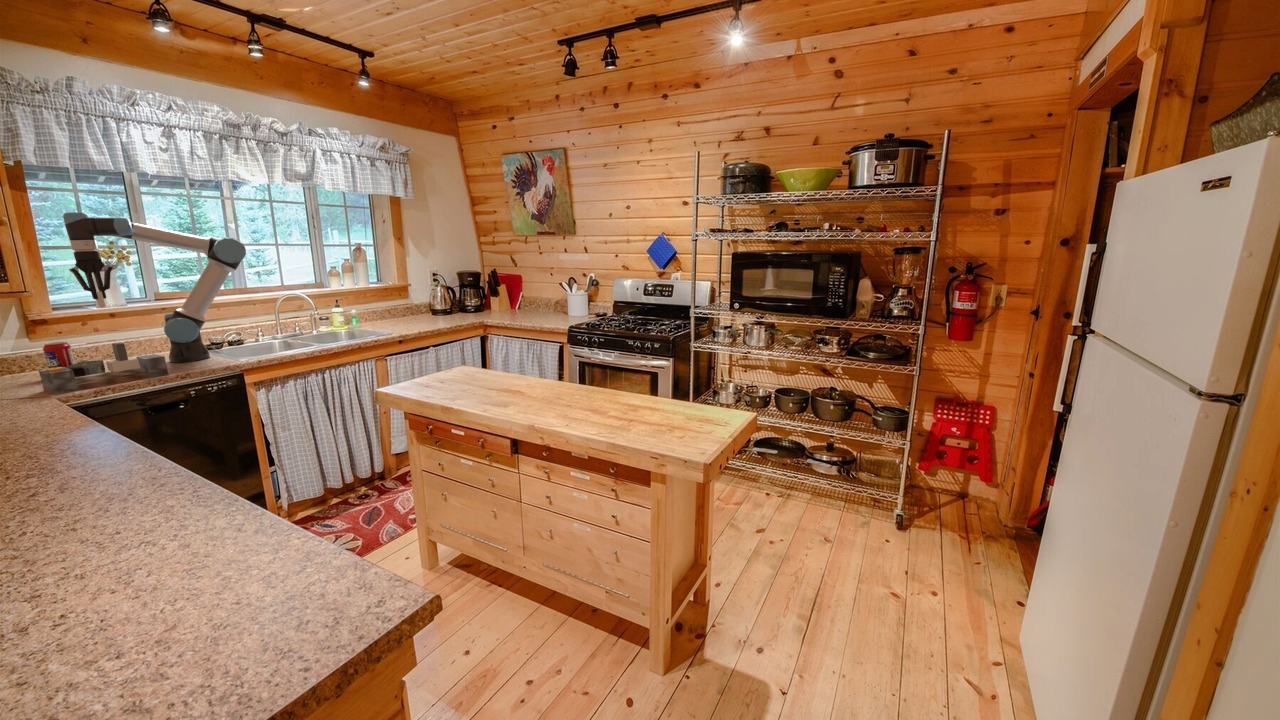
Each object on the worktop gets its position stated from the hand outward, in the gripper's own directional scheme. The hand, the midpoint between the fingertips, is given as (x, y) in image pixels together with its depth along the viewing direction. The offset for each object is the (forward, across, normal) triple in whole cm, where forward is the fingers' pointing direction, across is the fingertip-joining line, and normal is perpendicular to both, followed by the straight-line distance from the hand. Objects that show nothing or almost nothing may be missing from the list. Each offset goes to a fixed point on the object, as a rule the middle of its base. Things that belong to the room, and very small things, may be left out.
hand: (102, 306), depth 218 cm
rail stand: (+29, -10, -20) cm, 37 cm away
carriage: (+25, -4, -21) cm, 33 cm away
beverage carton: (+30, -11, +1) cm, 32 cm away
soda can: (+29, -14, +13) cm, 35 cm away
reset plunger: (+25, -23, -20) cm, 39 cm away
